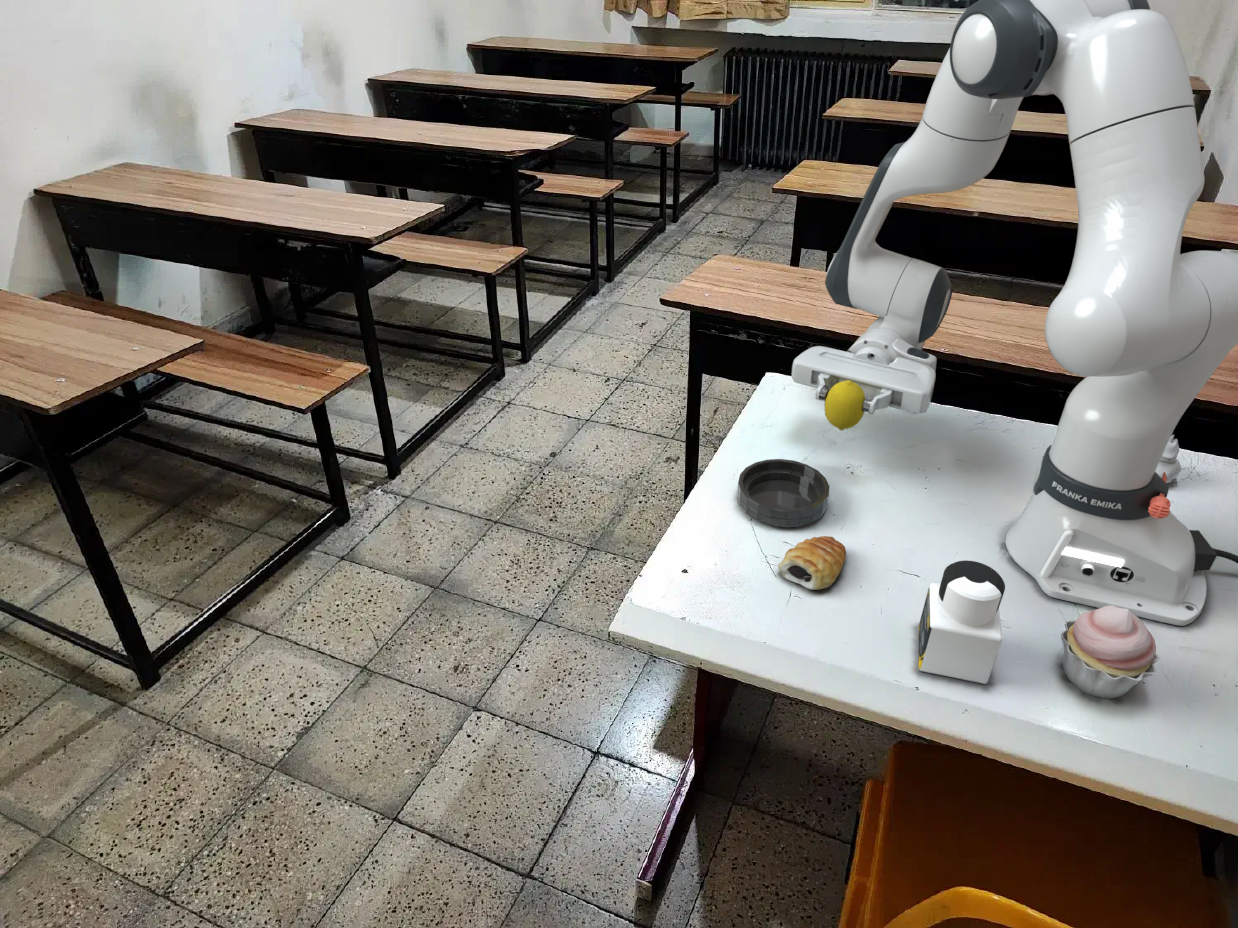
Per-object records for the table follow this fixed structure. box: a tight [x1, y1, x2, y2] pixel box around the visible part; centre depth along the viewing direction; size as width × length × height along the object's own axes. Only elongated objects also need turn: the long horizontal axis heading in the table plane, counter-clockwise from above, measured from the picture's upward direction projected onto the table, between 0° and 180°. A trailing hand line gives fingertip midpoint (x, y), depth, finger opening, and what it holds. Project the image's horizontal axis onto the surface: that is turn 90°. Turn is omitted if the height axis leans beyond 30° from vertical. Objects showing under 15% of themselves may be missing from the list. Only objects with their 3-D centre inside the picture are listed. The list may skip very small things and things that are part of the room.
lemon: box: [824, 380, 865, 431], centre depth 115 cm, size 6×6×8 cm
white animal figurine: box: [1155, 434, 1182, 484], centre depth 117 cm, size 5×7×8 cm
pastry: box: [777, 535, 847, 591], centre depth 103 cm, size 9×7×4 cm
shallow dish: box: [736, 458, 830, 528], centre depth 115 cm, size 12×12×3 cm
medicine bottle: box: [918, 560, 1006, 685], centre depth 88 cm, size 7×7×12 cm
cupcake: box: [1060, 605, 1161, 700], centre depth 86 cm, size 9×9×10 cm
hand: (844, 402), depth 114 cm, fingers closed on lemon, 5 cm apart
